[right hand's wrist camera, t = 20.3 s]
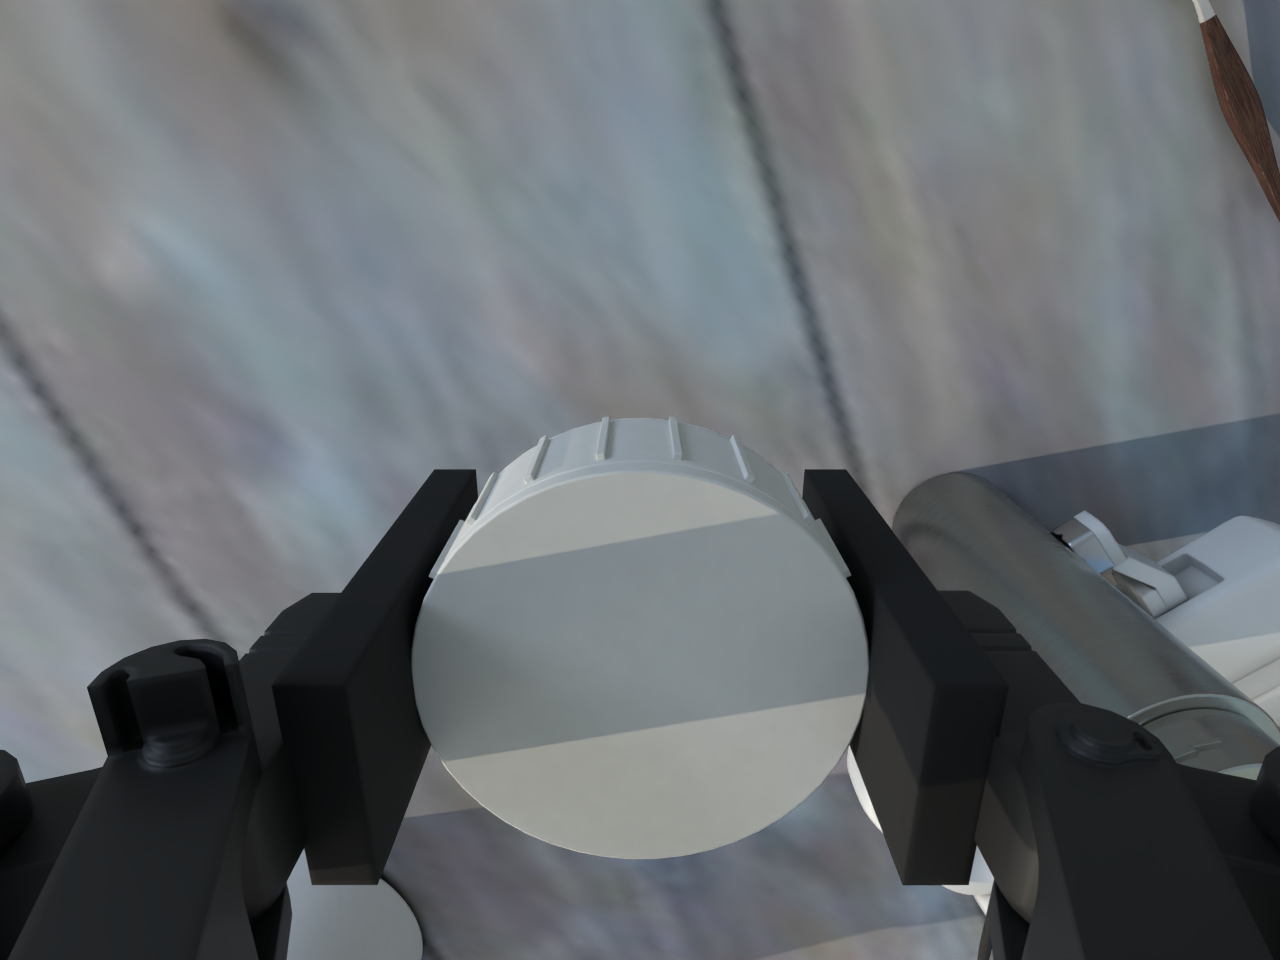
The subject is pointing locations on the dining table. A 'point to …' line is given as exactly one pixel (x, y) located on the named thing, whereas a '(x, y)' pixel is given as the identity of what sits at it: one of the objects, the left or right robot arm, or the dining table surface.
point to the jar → (1082, 624)
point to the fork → (1240, 103)
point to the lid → (640, 643)
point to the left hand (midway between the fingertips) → (995, 574)
